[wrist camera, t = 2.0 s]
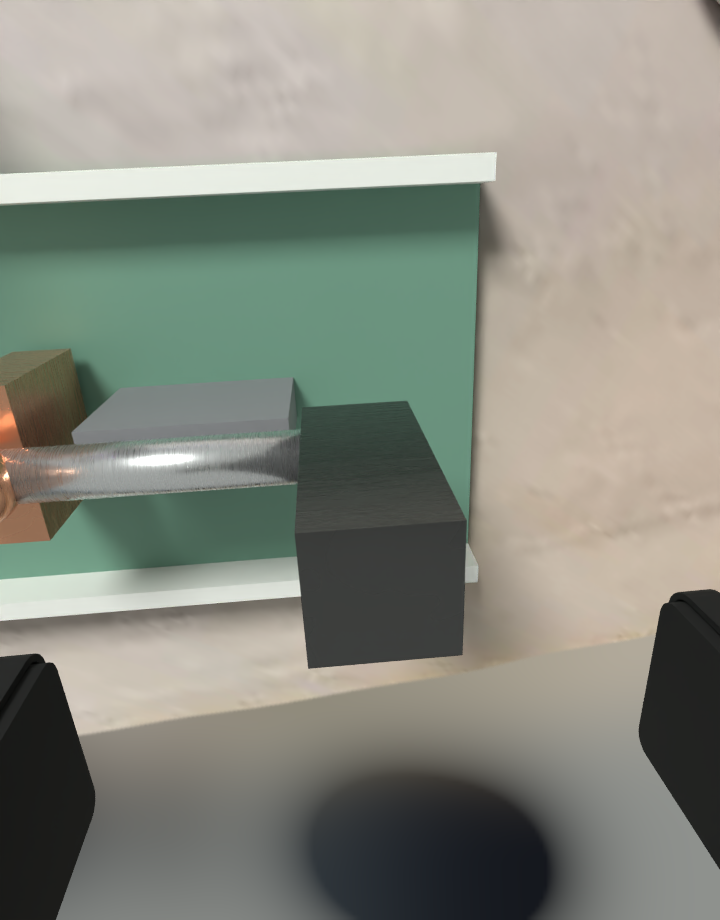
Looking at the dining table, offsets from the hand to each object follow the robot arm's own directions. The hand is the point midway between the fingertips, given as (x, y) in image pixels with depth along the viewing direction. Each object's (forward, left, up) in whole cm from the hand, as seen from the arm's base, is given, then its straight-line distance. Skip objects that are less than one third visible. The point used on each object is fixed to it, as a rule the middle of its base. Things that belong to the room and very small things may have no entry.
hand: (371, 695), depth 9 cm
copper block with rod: (+5, 0, -14) cm, 15 cm away
